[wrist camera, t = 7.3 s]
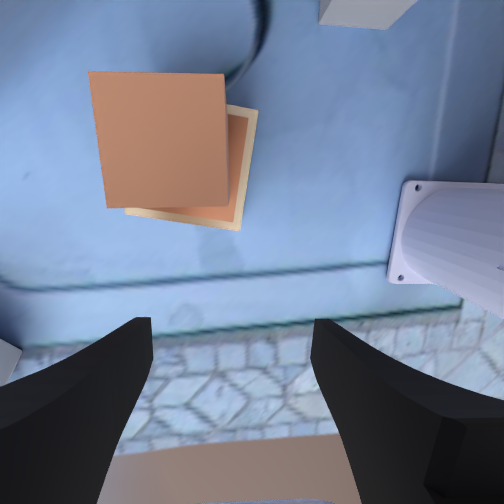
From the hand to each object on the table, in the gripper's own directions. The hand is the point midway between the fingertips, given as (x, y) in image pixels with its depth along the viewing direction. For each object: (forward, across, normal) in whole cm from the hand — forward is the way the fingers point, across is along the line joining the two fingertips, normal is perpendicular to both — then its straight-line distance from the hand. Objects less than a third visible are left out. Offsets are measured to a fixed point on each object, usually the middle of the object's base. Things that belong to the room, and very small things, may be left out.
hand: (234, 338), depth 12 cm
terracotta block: (+6, +3, -8) cm, 10 cm away
